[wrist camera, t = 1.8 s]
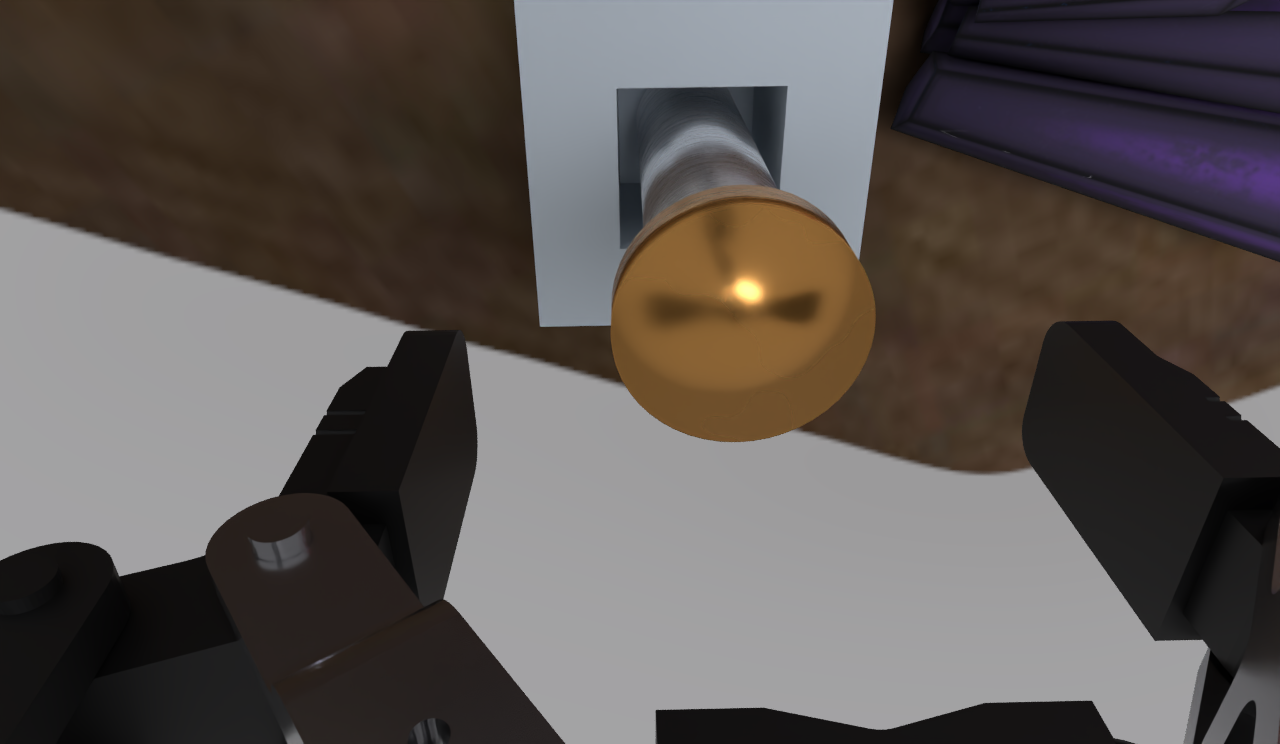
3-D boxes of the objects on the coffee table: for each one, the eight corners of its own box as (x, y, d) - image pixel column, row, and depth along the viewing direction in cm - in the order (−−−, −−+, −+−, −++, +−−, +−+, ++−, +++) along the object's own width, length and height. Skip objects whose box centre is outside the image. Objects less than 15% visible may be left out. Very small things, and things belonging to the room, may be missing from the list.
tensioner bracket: (494, -355, 19) (449, -436, 14) (885, -359, 19) (981, -441, 14) (540, 253, 27) (522, 344, 22) (820, 248, 27) (867, 337, 22)
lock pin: (613, 43, 23) (606, 209, 12) (760, 41, 23) (893, 204, 12) (616, 186, 25) (614, 444, 14) (752, 184, 25) (857, 439, 14)
